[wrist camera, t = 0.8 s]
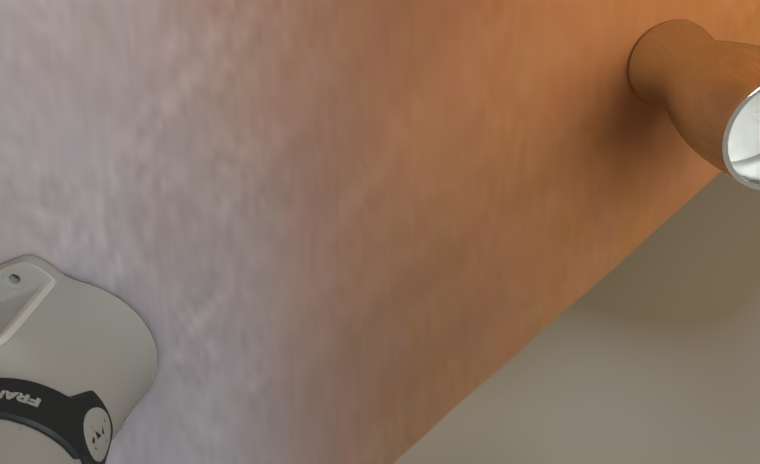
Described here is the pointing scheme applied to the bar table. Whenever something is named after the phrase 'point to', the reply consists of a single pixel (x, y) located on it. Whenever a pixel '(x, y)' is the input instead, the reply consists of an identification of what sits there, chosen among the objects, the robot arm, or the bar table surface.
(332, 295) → the bar table surface
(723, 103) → the beer glass
